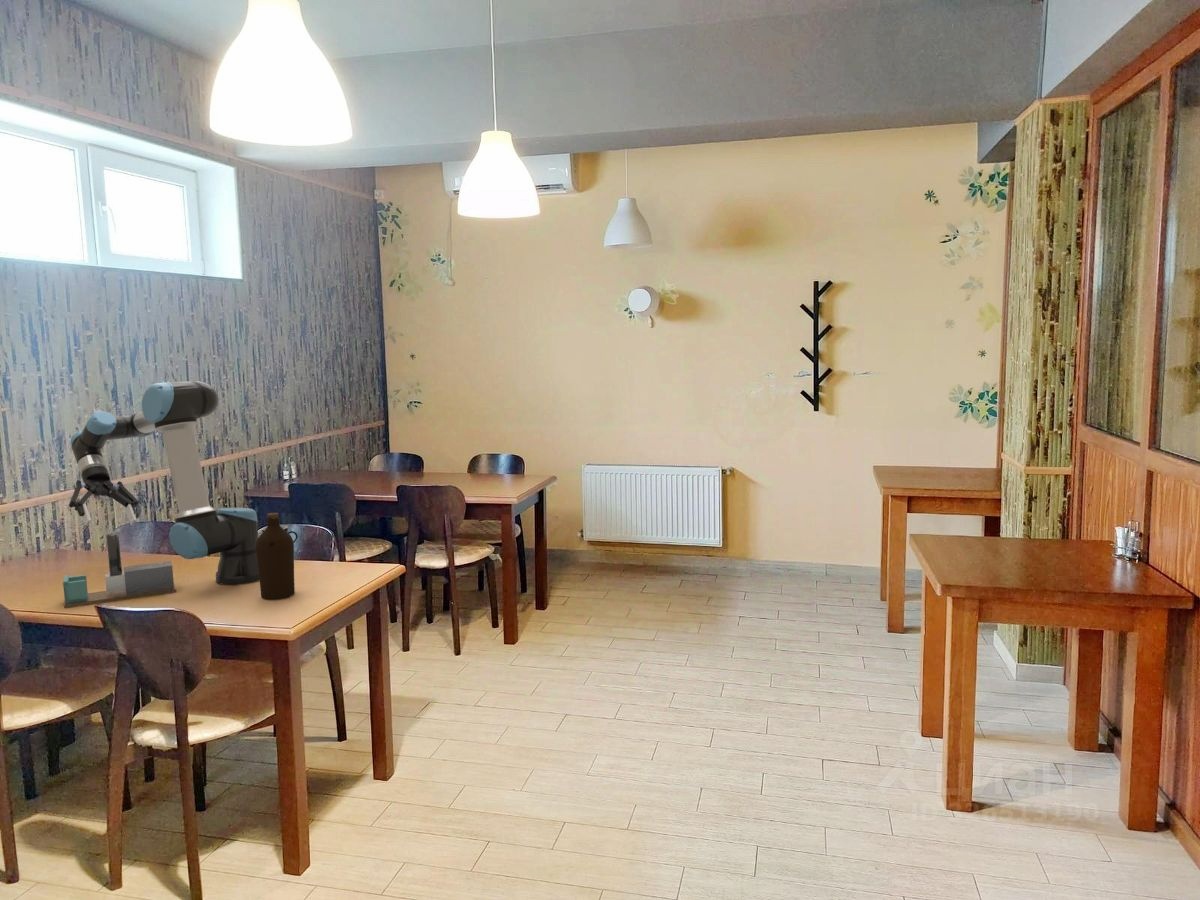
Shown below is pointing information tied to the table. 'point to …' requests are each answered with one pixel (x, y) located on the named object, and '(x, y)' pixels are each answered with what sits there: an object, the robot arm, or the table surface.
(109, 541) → the metal plate with post
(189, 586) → the table surface
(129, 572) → the base plate with blocks
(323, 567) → the table surface
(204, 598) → the table surface
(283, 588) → the olive oil
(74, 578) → the teal bracket
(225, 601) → the table surface
